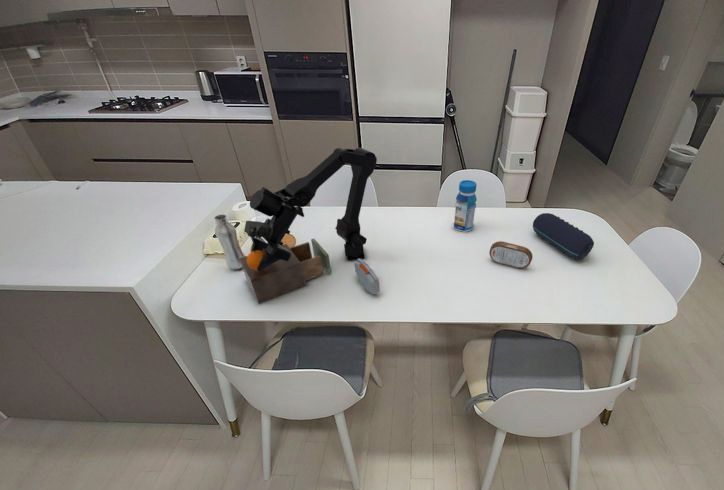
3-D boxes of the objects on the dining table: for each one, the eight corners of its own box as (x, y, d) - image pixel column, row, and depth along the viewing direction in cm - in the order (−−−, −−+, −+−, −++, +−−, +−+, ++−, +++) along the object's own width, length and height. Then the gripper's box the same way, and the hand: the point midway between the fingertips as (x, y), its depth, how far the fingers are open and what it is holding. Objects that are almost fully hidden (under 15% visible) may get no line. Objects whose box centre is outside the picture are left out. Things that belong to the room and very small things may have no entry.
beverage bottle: (474, 232, 146) (480, 187, 134) (454, 232, 146) (458, 187, 134) (471, 222, 152) (477, 178, 140) (452, 222, 153) (456, 178, 141)
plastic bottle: (236, 273, 122) (217, 224, 110) (224, 267, 125) (205, 218, 113) (251, 264, 127) (235, 215, 115) (239, 259, 130) (222, 210, 118)
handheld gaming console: (381, 296, 113) (379, 277, 109) (373, 299, 112) (371, 280, 107) (361, 273, 123) (359, 254, 118) (354, 275, 122) (351, 257, 117)
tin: (530, 267, 126) (535, 248, 121) (528, 272, 124) (533, 252, 119) (489, 257, 131) (492, 238, 126) (487, 261, 129) (490, 242, 124)
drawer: (320, 255, 130) (317, 237, 126) (334, 271, 122) (331, 253, 118) (278, 269, 123) (273, 251, 118) (290, 288, 115) (286, 269, 110)
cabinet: (291, 266, 126) (286, 243, 121) (306, 285, 117) (300, 262, 112) (247, 281, 119) (239, 258, 113) (258, 303, 110) (250, 280, 104)
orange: (271, 261, 111) (266, 244, 107) (270, 273, 106) (264, 255, 102) (251, 264, 110) (245, 246, 106) (248, 276, 105) (242, 258, 101)
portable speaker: (593, 259, 130) (602, 236, 125) (574, 266, 127) (582, 243, 121) (545, 228, 149) (551, 207, 143) (527, 234, 145) (532, 212, 139)
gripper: (245, 199, 105) (218, 243, 105) (271, 223, 93) (241, 272, 94) (276, 215, 113) (251, 255, 114) (303, 238, 102) (275, 283, 103)
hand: (254, 265), depth 106 cm, fingers closed on orange, 6 cm apart
